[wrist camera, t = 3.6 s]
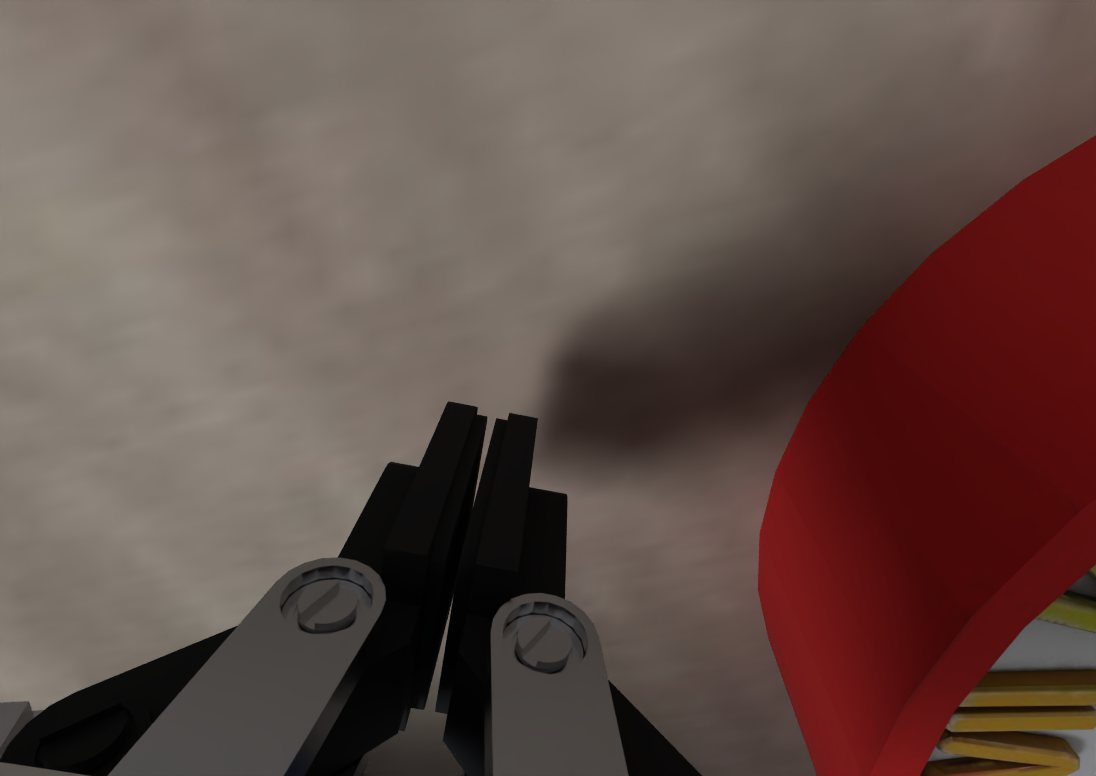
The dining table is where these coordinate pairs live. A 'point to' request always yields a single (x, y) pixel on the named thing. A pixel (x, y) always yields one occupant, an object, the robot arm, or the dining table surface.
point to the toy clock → (952, 510)
